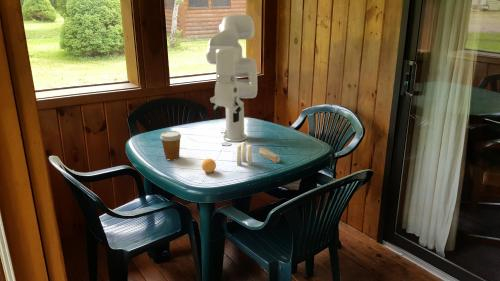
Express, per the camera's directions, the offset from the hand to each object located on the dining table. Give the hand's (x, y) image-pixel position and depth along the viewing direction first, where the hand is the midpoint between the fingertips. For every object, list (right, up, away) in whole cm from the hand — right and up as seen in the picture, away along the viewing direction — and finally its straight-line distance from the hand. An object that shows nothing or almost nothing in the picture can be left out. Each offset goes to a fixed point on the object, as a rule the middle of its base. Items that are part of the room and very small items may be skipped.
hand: (227, 120), depth 170 cm
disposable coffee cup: (-27, -17, +21) cm, 38 cm away
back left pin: (+7, -18, +16) cm, 25 cm away
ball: (-8, -19, +4) cm, 21 cm away
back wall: (+19, -17, +20) cm, 32 cm away
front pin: (+5, -19, +12) cm, 24 cm away
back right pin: (+10, -19, +12) cm, 25 cm away
